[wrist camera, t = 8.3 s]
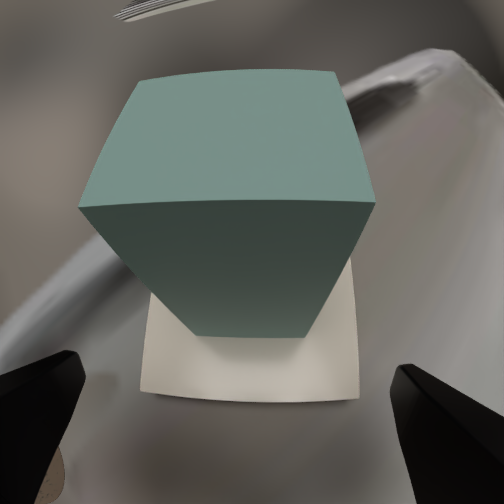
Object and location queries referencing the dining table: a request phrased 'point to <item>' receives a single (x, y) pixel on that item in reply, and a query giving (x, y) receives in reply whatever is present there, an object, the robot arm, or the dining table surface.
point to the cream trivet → (256, 358)
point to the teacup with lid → (52, 481)
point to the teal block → (234, 196)
